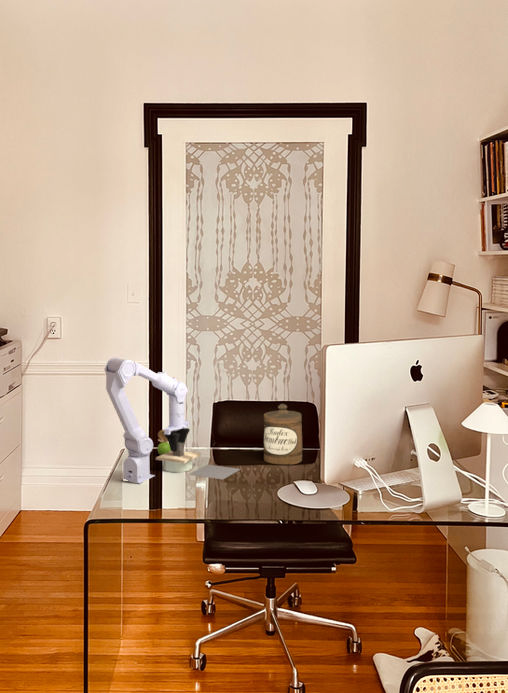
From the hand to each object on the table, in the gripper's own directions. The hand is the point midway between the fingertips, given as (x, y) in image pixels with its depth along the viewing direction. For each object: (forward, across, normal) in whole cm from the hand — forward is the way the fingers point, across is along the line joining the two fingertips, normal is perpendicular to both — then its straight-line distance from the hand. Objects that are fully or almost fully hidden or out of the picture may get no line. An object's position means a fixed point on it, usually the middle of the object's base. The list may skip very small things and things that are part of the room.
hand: (177, 449), depth 262 cm
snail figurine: (+8, +15, +14) cm, 22 cm away
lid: (+3, 0, 0) cm, 3 cm away
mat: (+8, +2, -15) cm, 17 cm away
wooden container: (+8, +28, -30) cm, 42 cm away
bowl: (+8, 0, 0) cm, 8 cm away
